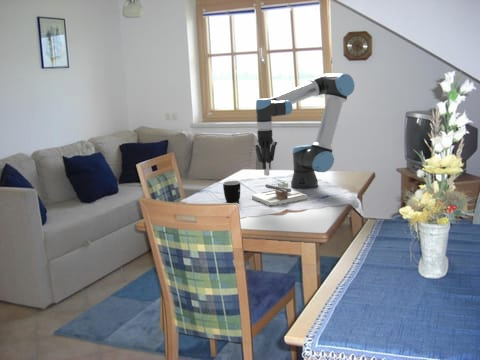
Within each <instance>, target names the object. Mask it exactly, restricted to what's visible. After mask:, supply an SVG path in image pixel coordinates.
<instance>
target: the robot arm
mask: <svg viewBox="0 0 480 360" xmlns="http://www.w3.org/2000/svg"><path fill="white" fill-rule="evenodd" d="M354 90H355V80H354V79H353V77H352V76H351V75H350V74H349V73H345V72H337V73H335V72H329V73H328V72H327V73H323V74H322V75H319V76H317V77H314V78H311V79H310V80H308V82H306V83H304V84H301V85H299V86H297V87H294V88H292V89H289V90H287V91H284V92H282V93H280V94H277V95H274V96H272V97H270V98H268V97H267V98H265V97H264V98H258V99H257V100H256V102H255V110H256V113H255V114H256V125H257V127H256V128H257V142H256V143H254V144H253V147H254V149H255V152H256V156H257V159H258V162H259V163H261V164H262V169H263V174H264V176H266V177H267V176H270V169H271V163H272V162H273V161H274V158H275V152H276V148H277V147H276V146H277V145H278V142H277V141H275V140H274V139H273V117H282V116H289V115H291V114H292V112H293V105H294V104H297V103H299V102H301V101H304V100H305V99H309V98H310V97H318V96H322V95H324V96H325V98H326V101H325V106H324V109H323V112H322V117H321V120H320V124H319V128H318V131H317V134H316V138H315V142H313V143H312V144H304V145H297V146H294V147H293V148H292V162H293V163H292V164H293V174H292V178H291V180H290V186H291V188H293V189H301V190H302V189H314V188H317V187H318V185H319V184H318V183H319V181H318V178H317V176H316V173H315V172H317V173H326V172H328V171H329V170H331V169H332V167H333V165H334V163H335V158H334V154H333V148H332V144H333V139H334V136H335V131H336V128H337V125H338V123H339V122H338V121H339V118H340V113H341V109H342V107H343V104H344V103H345V102H347V99H348V96H350V95H352V94H353V93H354Z"/></svg>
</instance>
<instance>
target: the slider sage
mask: <svg viewBox="0 0 480 360" xmlns="http://www.w3.org/2000/svg"><path fill="white" fill-rule="evenodd" d="M277 187H283V188H284V187H287V188H289V182H286V181H284V180H283V181H282V180H281V181H279V182H277Z"/></svg>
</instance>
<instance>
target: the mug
mask: <svg viewBox="0 0 480 360" xmlns="http://www.w3.org/2000/svg"><path fill="white" fill-rule="evenodd" d="M222 185H223V187H222V188H223V189H222V190H223V195H224V199H225V201H226V203H228V204H234V203H233V202H237V203H239V202H240V198H241V181H238V180H228V181H225V182H223V183H222Z"/></svg>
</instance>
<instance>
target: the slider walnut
mask: <svg viewBox="0 0 480 360" xmlns="http://www.w3.org/2000/svg"><path fill="white" fill-rule="evenodd" d="M277 198H278V199H280V200H281V199H286V198H288V194H287V191H286V190H284V189H280V190H277Z"/></svg>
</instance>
